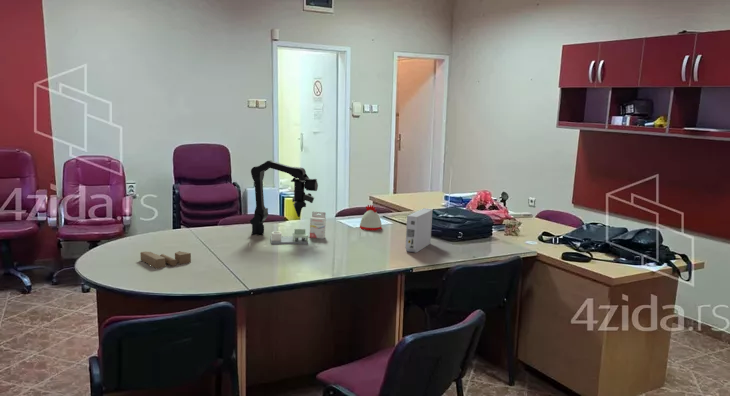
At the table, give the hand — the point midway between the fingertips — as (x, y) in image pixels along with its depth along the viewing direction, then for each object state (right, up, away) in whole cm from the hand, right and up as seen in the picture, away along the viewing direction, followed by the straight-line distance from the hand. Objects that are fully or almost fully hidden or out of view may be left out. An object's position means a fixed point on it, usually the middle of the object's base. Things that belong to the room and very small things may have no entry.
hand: (298, 216), depth 313 cm
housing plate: (-5, -13, -8) cm, 16 cm away
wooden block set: (-56, -20, -57) cm, 82 cm away
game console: (+68, -17, -12) cm, 71 cm away
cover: (+2, -13, -10) cm, 17 cm away
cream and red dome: (+42, -9, +34) cm, 55 cm away
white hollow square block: (-11, -12, -11) cm, 20 cm away
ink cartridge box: (+10, -12, +3) cm, 16 cm away
